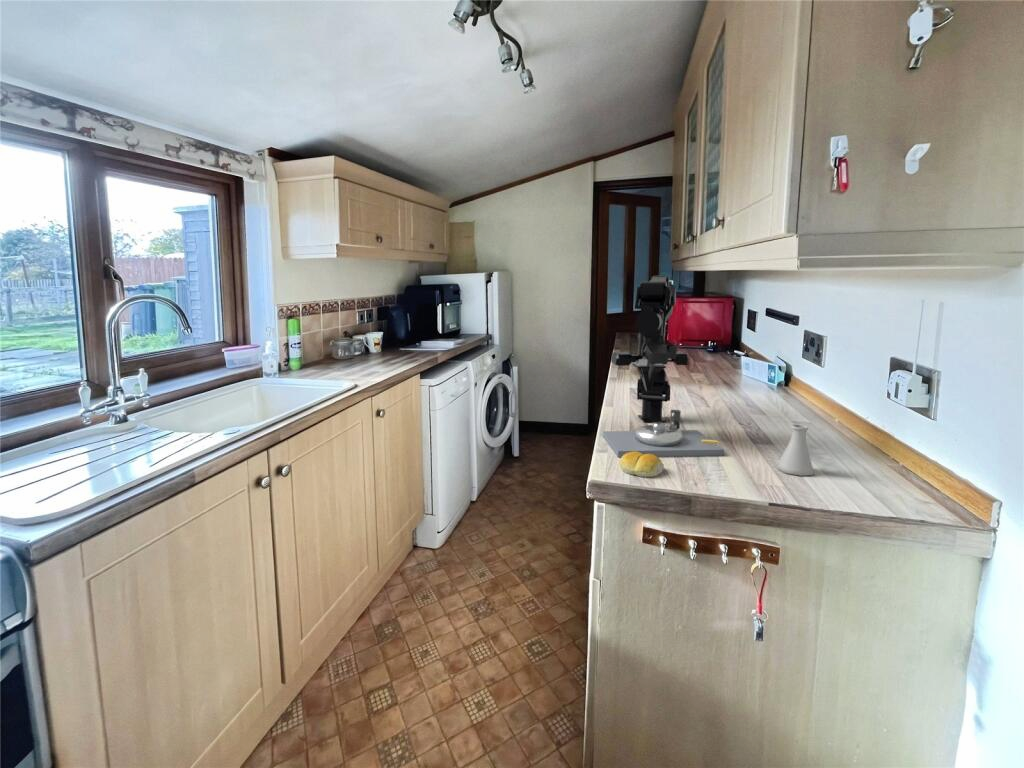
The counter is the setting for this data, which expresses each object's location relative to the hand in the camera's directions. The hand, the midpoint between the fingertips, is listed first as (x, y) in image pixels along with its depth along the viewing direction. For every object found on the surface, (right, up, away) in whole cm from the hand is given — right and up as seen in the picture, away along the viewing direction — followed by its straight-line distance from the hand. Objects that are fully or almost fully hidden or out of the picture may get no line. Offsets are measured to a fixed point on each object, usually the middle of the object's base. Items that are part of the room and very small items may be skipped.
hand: (647, 391), depth 134 cm
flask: (+25, -17, -23) cm, 39 cm away
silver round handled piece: (+2, -11, -6) cm, 13 cm away
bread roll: (-8, -17, -23) cm, 30 cm away
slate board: (+1, -13, -7) cm, 15 cm away
